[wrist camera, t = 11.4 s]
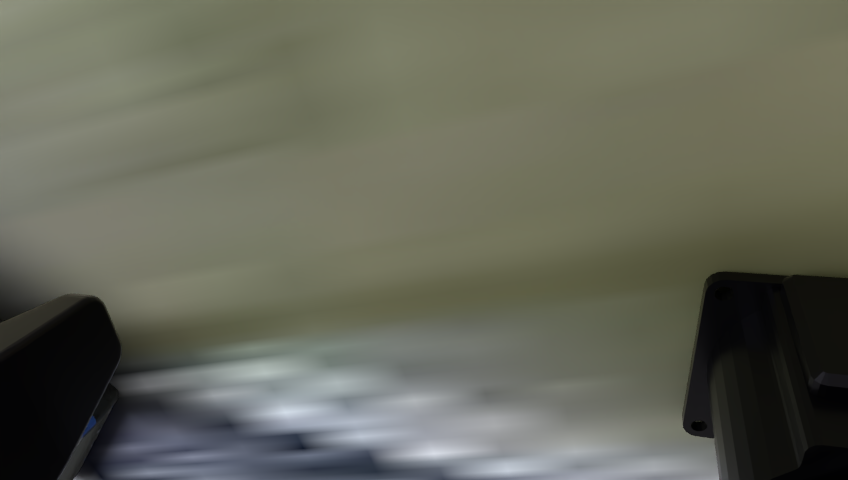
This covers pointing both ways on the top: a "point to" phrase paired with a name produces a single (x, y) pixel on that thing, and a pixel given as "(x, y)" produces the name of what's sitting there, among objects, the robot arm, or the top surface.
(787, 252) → the top surface
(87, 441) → the blue bin
